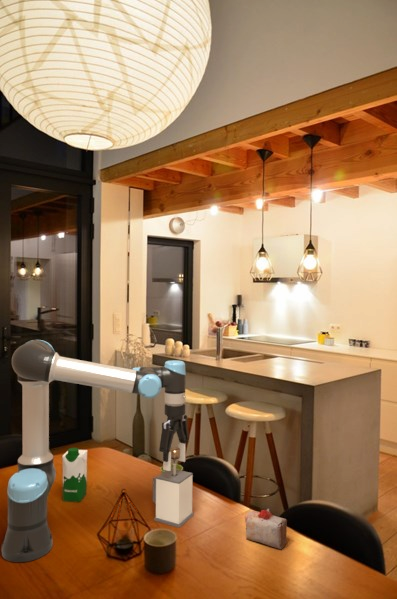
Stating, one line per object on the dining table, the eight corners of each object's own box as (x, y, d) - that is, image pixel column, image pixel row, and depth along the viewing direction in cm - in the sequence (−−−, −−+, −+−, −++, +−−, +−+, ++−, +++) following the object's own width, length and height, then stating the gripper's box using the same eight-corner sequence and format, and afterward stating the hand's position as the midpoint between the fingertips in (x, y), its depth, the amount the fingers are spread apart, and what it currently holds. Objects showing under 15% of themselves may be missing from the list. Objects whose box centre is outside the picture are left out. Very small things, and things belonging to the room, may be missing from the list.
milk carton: (59, 502, 178) (60, 450, 178) (68, 492, 187) (68, 443, 187) (81, 503, 177) (81, 451, 177) (89, 493, 186) (89, 444, 186)
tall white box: (179, 527, 159) (179, 482, 159) (145, 518, 166) (145, 475, 166) (193, 515, 169) (193, 472, 168) (161, 506, 175) (161, 465, 175)
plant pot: (180, 494, 186) (180, 472, 186) (157, 492, 188) (157, 471, 188) (184, 484, 195) (184, 464, 195) (163, 483, 197) (163, 463, 197)
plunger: (177, 510, 162) (178, 453, 162) (160, 505, 165) (161, 450, 165) (187, 502, 168) (187, 447, 168) (171, 498, 171) (171, 444, 171)
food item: (241, 540, 152) (241, 510, 152) (251, 529, 159) (251, 501, 159) (280, 552, 145) (280, 521, 145) (289, 541, 152) (289, 511, 152)
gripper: (167, 411, 155) (167, 478, 155) (198, 398, 174) (198, 457, 174) (149, 409, 158) (148, 473, 158) (181, 396, 178) (181, 454, 178)
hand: (174, 465), depth 166 cm, fingers open, 9 cm apart
